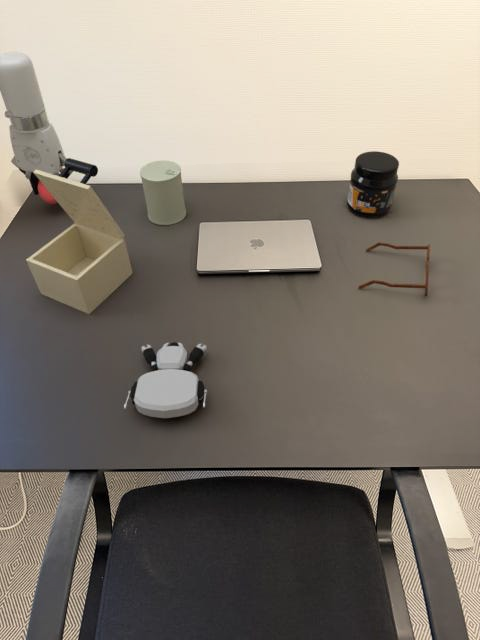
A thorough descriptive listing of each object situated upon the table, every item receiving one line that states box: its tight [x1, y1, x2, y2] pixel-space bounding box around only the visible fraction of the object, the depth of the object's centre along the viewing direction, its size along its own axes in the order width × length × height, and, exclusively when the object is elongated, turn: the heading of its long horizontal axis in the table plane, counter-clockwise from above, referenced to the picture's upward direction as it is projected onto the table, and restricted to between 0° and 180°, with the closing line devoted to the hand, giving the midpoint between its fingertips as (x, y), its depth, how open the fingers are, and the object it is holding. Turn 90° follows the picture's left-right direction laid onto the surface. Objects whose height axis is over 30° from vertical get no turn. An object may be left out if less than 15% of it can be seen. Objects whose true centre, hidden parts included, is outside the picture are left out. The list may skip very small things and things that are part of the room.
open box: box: [25, 222, 133, 315], centre depth 93 cm, size 14×13×9 cm
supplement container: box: [346, 150, 400, 219], centre depth 109 cm, size 10×10×12 cm
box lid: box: [33, 157, 126, 239], centre depth 88 cm, size 14×13×6 cm
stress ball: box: [38, 180, 58, 205], centre depth 112 cm, size 5×9×6 cm
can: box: [139, 160, 187, 226], centre depth 108 cm, size 9×9×12 cm
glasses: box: [358, 242, 431, 297], centre depth 94 cm, size 13×13×5 cm
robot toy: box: [123, 341, 208, 419], centre depth 76 cm, size 12×4×15 cm
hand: (52, 193), depth 113 cm, fingers closed on stress ball, 6 cm apart
